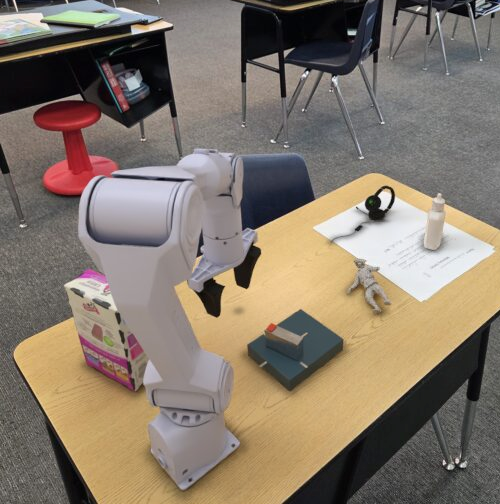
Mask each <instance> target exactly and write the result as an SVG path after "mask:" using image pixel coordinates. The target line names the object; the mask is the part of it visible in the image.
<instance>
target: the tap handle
mask: <svg viewBox="0 0 500 504" xmlns="http://www.w3.org/2000/svg"><path fill="white" fill-rule="evenodd" d="M264 332H265V344H266V346H267V347H269V348H271V349H273V350H275V351H278V352H280V353H282V354H284V355H286V356H288V357H290V358H293V359H295V360H297V361H298V359H299V358H300V357H301V356H302V354H303V337H301V336H299V335H297V334H294V333H292V332H290V331H288V330H285V329H283V328H281V327H278V326H277V324H275V323H273V322H271V323H270V324H269V325H268V326H267V327H266V328H265V330H264Z"/></svg>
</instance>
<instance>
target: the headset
mask: <svg viewBox="0 0 500 504" xmlns="http://www.w3.org/2000/svg"><path fill="white" fill-rule="evenodd" d="M385 189H386V190H389V191H390V201H389V203H388V205H387V206H386V208H384V209H383V208H381V206H382V199H381V198H380V197H379V196H380V194H381V193H382V192H383V191H384V190H385ZM395 200H396V192H395V189H394V188H393V187H392V186H389V185H383V186H381V187H380V188H378V190H377V191H376V192H375V193H374V194H372V195H370V196H368V197H367V198H366V199H365V201H364V208H365V209H366V210H367V211H368V213H366V212H364V211H362V210H361V209H360V208H359V207H358V206H355V208H356V209H357V210H359V212H361V213H363V214H365V215H367V216H368V218H369V219H370V220H369V221H368V223H369V222H371V221H381V220H384V219H385V218H386V214H387V213H388V212H389V211H390V210H391V209H392V207H393V205H394V203H395ZM366 223H367V221H363V222H362V223H360V224H359V225H358V226H356V228H354V231H355V232H356V231H357V232H359V231H360V230H361V229H362V228H363V227H364V226H363V225H362V224H366ZM353 234H354V232H352V233H350V234H347V235H340V238H344V237H348V236H352V235H353ZM338 238H339V236H336V237H334V238H333V239H331V241H330V243H332V242H333V241H334V240H335V239H338Z"/></svg>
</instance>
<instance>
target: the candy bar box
mask: <svg viewBox="0 0 500 504" xmlns="http://www.w3.org/2000/svg"><path fill="white" fill-rule="evenodd" d="M63 287H64V290H65V293H66V297H67V300H68V304H69V308H70V311H71V314H72V315H71V316H72V319H73V322H74V325H75V329H76V332H77V336H78V339H79V343H80V347H81V349H82V353H83V356H84V357H83V358H84V360H85V364H86V365H87V366H88V367H90V368H92V369H94V370H96V371H97V372H99V373H102V374H103V375H105V376H106V377H109V378H110V379H112V380H114V381H115V382H117V383H118V384H120V385H122V386H123V387H126V388H127V389H129V390H131V391H133V392H134V393H135V392H137V391H138V390H140V388H141V387H143V386H144V385H143V378H144V373H145V370H146V366H147V363H148V361H149V358H148V357H147V355H146V353H145V352H144V350H143V349H142V347H141V346H140V344H139V343H138V341H137V339H136V338H135V336H134V335H133V333H132V332H131V330H130V329H129V327H128V325H127V324H126V322H125V321H124V319H123V318H122V316H121V315H120V313H119V311H118V310H117V308H116V306H115V303H114V300H113V297H112V294H111V291H110V288H109V285H108V282H107V279H106V276H105V275H104V274H103V273H99V272H98V271H95V270H94V269H91V268H88V269H86V270H85V271H83V272H82V273H80V274H78V275H77V276H76V277H74V278H73V279H70V281H68V282H67V283H65V284H63Z"/></svg>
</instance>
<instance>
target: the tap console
mask: <svg viewBox="0 0 500 504" xmlns="http://www.w3.org/2000/svg"><path fill="white" fill-rule="evenodd" d="M276 325H277V326H278V327H281V328H283V329H285V330H288V331H290V332H292V333H294V334H297V335H299V336H301V337H303V354H302V356H301V357H300V358H299V359H298V361H297V360H295V359H293V358H290V357H288V356H286V355H284V354H282V353H280V352H278V351H275V350H273V349H271V348H269V347H267V346H266V344H265V331H263V332H262V333H261V335H260V336H258V337H257V338H255V339H253V340H252V341H250V342H249V343H248V344H247V345H246V346H247V356H248V357H249V358H250V359H251V360H252V361H254V363H256V364H257V365H258V367H259V368H260V369H261V368H262V369H263V370H264V371H265V372H267V373H268V374H269V375H270V376H271V377H272V378H273V379H275V380H276V381H277V382H278V383H279V384H281V386H283V387H284V388H285V389H286V390H287V391H289V392H291V391H292V390H294V389H295V388H296V387H298V386H299V385H300V384H302V383H303V382H304V381H305V380H307V379H308V378H309V377H310V376H312V375H313V374H314V373H316V372H317V371H319V369H320V368H322V367H323V366H325V364H327V363H329V361H331V360H332V359H334V358H335V357H336V356H337V355H339V354H340V353H341V352H342V351H344V338H342V337H341V336H340V335H338V334H337V333H336V332H334V331H333V330H332V329H330V328H329V327H327V326H326V325H324V324H323V323H321V322H320V321H319V320H317V319H316V318H314V317H313V316H311V315H310V314H309V313H308V312H306V311H305V310H303V309H302V308H300V309H298V310H297V311H295V312H294V313H292V314H291V315H289V316H287V317H286V318H285V319H284V320H281V321H280V322H279V323H277V324H276Z"/></svg>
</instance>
